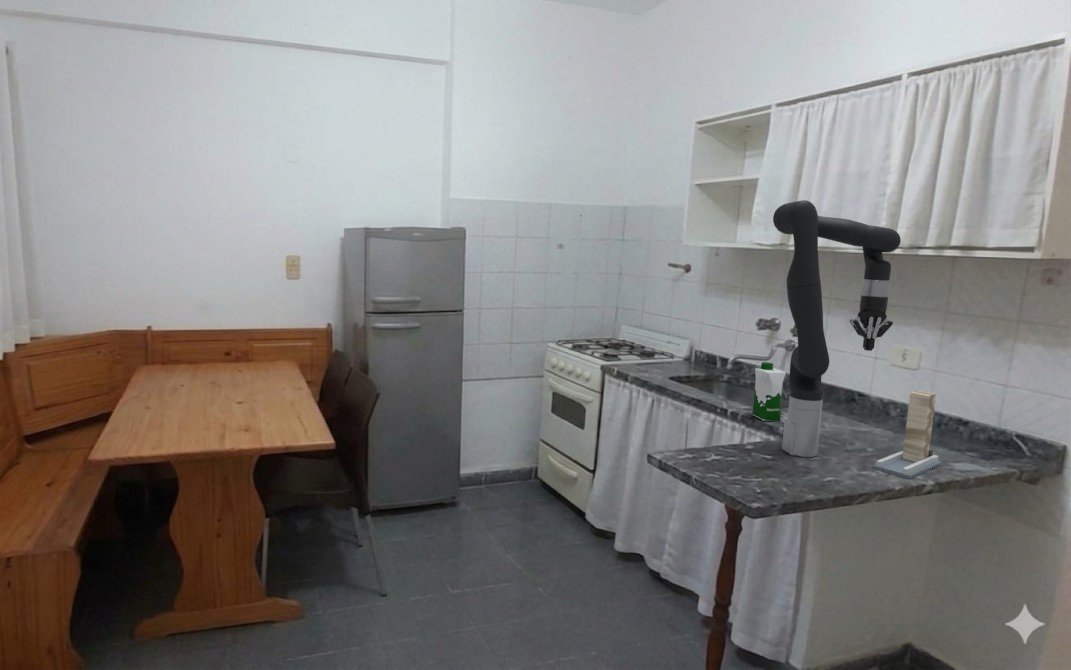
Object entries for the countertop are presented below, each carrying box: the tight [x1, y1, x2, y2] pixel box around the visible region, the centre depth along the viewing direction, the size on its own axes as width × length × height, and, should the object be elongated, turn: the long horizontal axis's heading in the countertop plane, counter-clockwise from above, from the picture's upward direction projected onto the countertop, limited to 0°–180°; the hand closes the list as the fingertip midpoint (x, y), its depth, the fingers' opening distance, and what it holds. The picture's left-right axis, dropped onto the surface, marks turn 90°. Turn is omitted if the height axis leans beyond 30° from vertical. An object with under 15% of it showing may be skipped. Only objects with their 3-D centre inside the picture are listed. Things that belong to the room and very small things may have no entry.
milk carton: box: [752, 361, 787, 421], centre depth 235 cm, size 9×9×20 cm
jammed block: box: [902, 389, 937, 462], centre depth 190 cm, size 5×5×20 cm
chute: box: [872, 448, 942, 480], centre depth 188 cm, size 21×10×4 cm, turn 128°
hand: (867, 350), depth 203 cm, fingers closed
